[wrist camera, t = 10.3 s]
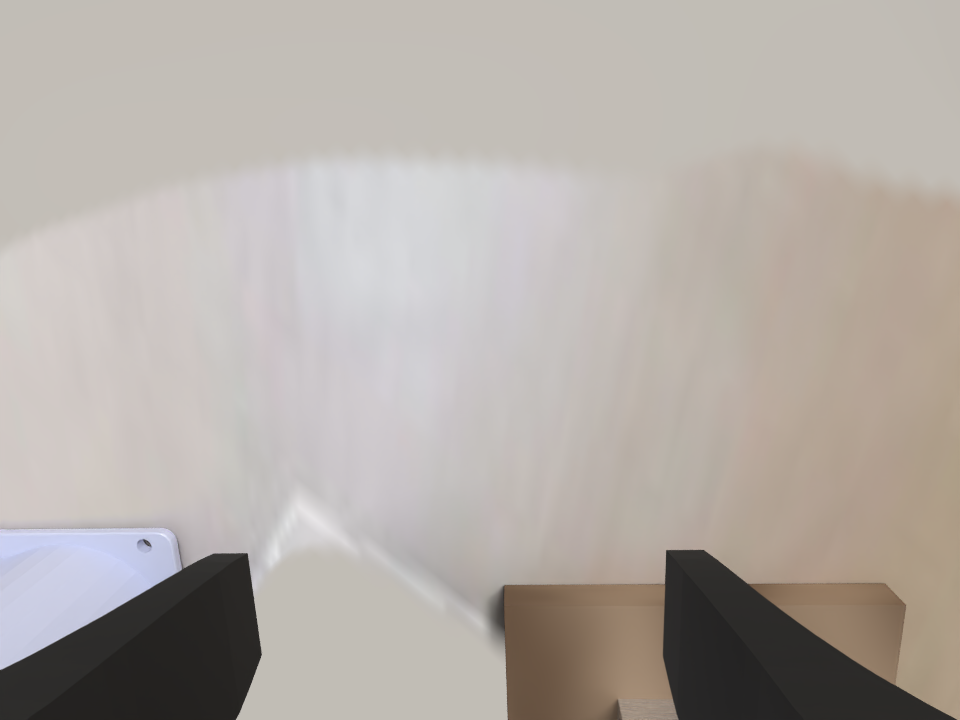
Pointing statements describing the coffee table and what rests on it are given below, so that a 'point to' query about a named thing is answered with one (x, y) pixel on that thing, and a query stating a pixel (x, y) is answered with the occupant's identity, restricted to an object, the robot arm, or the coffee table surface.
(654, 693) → the brown peg base
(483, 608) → the coffee table surface
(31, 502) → the coffee table surface
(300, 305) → the coffee table surface
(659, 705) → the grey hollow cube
